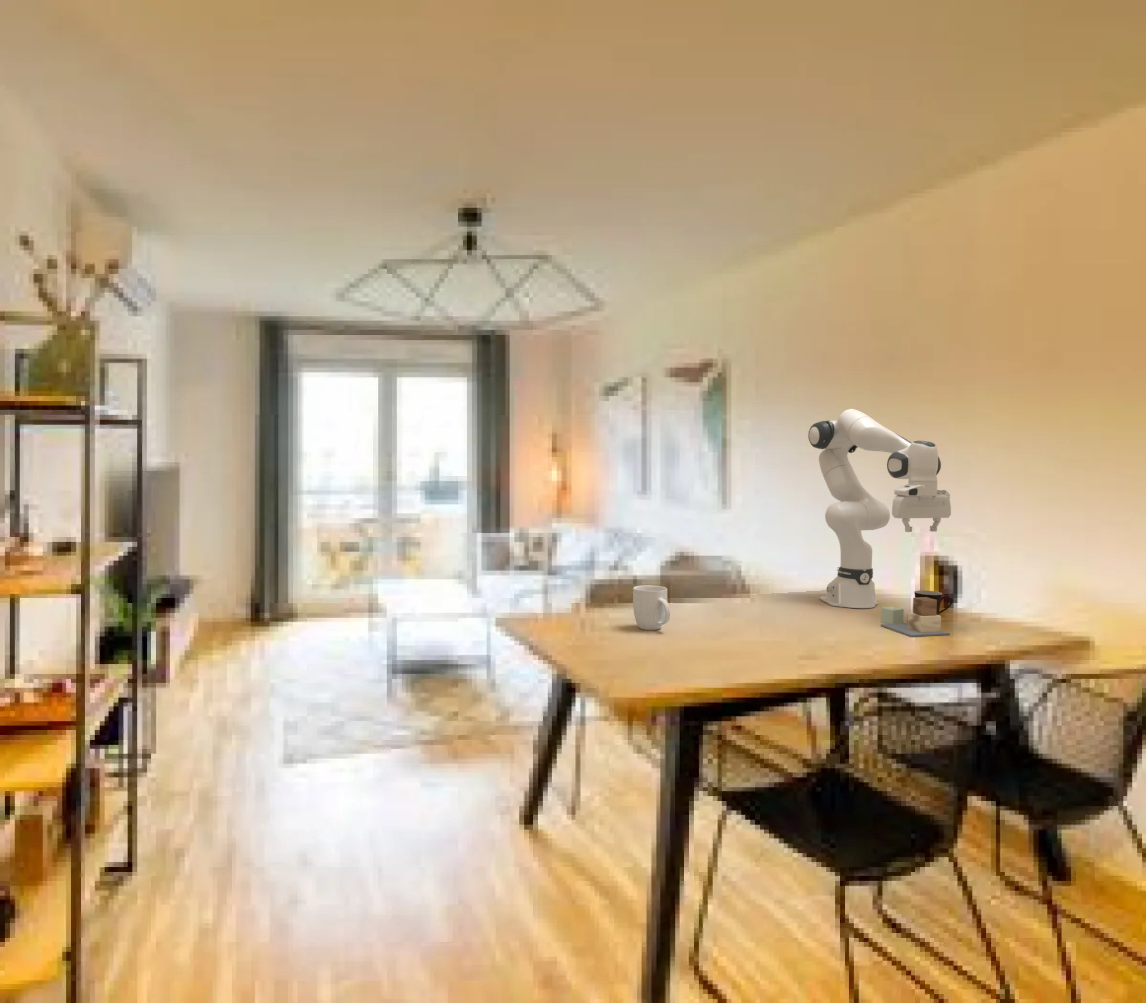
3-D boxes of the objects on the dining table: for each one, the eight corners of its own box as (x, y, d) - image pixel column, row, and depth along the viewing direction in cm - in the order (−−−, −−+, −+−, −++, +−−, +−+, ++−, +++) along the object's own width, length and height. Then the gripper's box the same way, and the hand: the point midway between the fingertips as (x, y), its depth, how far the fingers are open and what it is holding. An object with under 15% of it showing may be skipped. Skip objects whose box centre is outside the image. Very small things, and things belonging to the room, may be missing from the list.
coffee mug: (912, 622, 278) (913, 593, 277) (914, 618, 285) (915, 589, 285) (949, 626, 272) (951, 596, 272) (951, 621, 280) (952, 592, 279)
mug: (681, 631, 261) (682, 590, 261) (654, 635, 255) (655, 594, 255) (652, 623, 274) (652, 584, 273) (625, 626, 268) (626, 587, 267)
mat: (880, 626, 272) (880, 624, 272) (917, 624, 275) (917, 622, 275) (911, 637, 256) (911, 635, 256) (949, 635, 260) (950, 633, 260)
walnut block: (912, 613, 266) (913, 597, 266) (926, 612, 267) (926, 597, 267) (922, 616, 261) (923, 600, 261) (936, 615, 262) (936, 600, 262)
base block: (907, 627, 267) (908, 612, 267) (926, 626, 269) (926, 611, 268) (921, 632, 260) (922, 617, 260) (940, 631, 262) (941, 616, 261)
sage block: (880, 622, 279) (881, 607, 278) (890, 620, 281) (891, 606, 281) (892, 625, 274) (893, 610, 274) (903, 623, 277) (903, 609, 276)
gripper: (943, 489, 278) (941, 530, 279) (889, 489, 273) (888, 531, 274) (956, 490, 272) (954, 532, 273) (901, 490, 267) (900, 533, 268)
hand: (921, 531), depth 273 cm, fingers open, 8 cm apart
